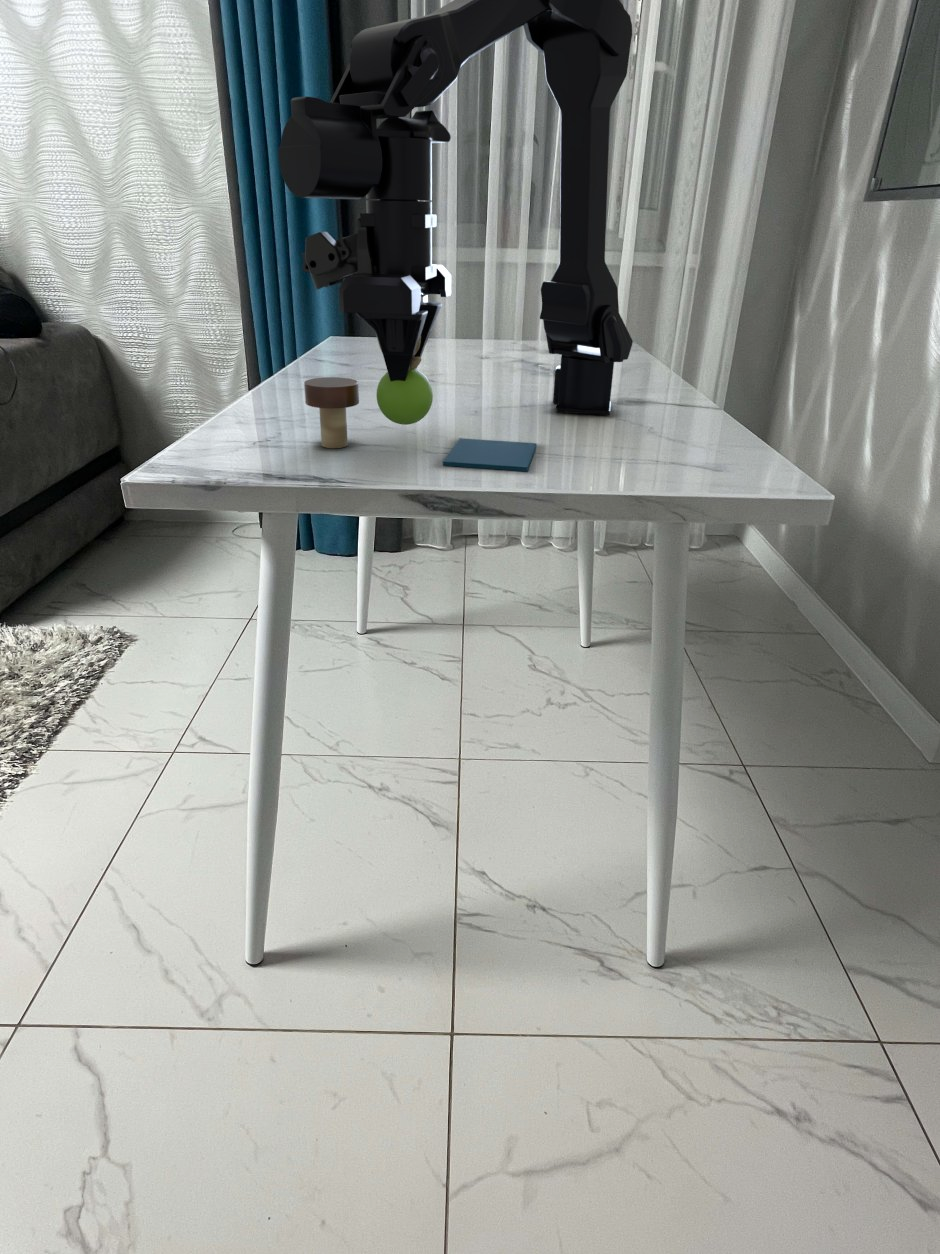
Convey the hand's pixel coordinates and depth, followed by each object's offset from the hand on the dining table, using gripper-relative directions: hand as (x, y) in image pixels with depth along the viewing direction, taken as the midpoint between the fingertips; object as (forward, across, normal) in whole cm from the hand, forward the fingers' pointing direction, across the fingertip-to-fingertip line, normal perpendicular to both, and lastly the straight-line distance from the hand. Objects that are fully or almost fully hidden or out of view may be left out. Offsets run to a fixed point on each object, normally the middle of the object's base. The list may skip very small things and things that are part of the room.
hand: (402, 384), depth 78 cm
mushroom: (+6, 0, -7) cm, 9 cm away
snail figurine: (+4, 0, 0) cm, 4 cm away
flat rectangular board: (+6, 0, +9) cm, 11 cm away
